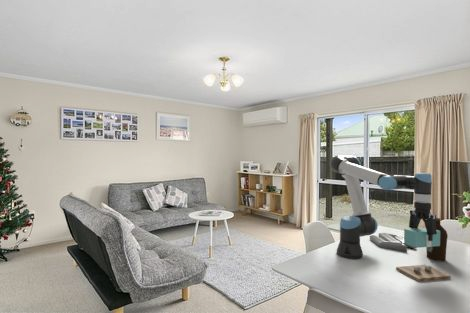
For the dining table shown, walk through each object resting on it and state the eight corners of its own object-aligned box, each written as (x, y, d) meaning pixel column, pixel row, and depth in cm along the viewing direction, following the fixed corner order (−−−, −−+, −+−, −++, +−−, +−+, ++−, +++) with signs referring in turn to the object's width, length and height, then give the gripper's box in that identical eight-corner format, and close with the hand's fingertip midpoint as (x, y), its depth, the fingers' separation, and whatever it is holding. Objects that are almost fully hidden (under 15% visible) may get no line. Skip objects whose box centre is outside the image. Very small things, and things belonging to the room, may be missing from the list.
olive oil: (441, 256, 169) (442, 216, 169) (450, 262, 159) (451, 220, 159) (422, 254, 172) (423, 215, 171) (430, 260, 161) (431, 219, 161)
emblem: (424, 241, 184) (398, 246, 172) (424, 248, 184) (398, 254, 172) (386, 230, 209) (361, 234, 197) (386, 237, 209) (361, 241, 197)
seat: (418, 281, 134) (418, 273, 134) (396, 269, 148) (396, 262, 148) (450, 278, 138) (450, 270, 138) (426, 267, 152) (426, 260, 152)
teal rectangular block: (415, 247, 139) (415, 232, 139) (404, 243, 146) (404, 228, 146) (440, 245, 143) (440, 230, 143) (427, 241, 150) (428, 227, 150)
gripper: (446, 204, 136) (445, 250, 136) (412, 198, 155) (411, 238, 155) (434, 205, 134) (433, 251, 134) (401, 198, 153) (400, 239, 153)
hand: (421, 244), depth 145 cm, fingers closed on teal rectangular block, 7 cm apart
